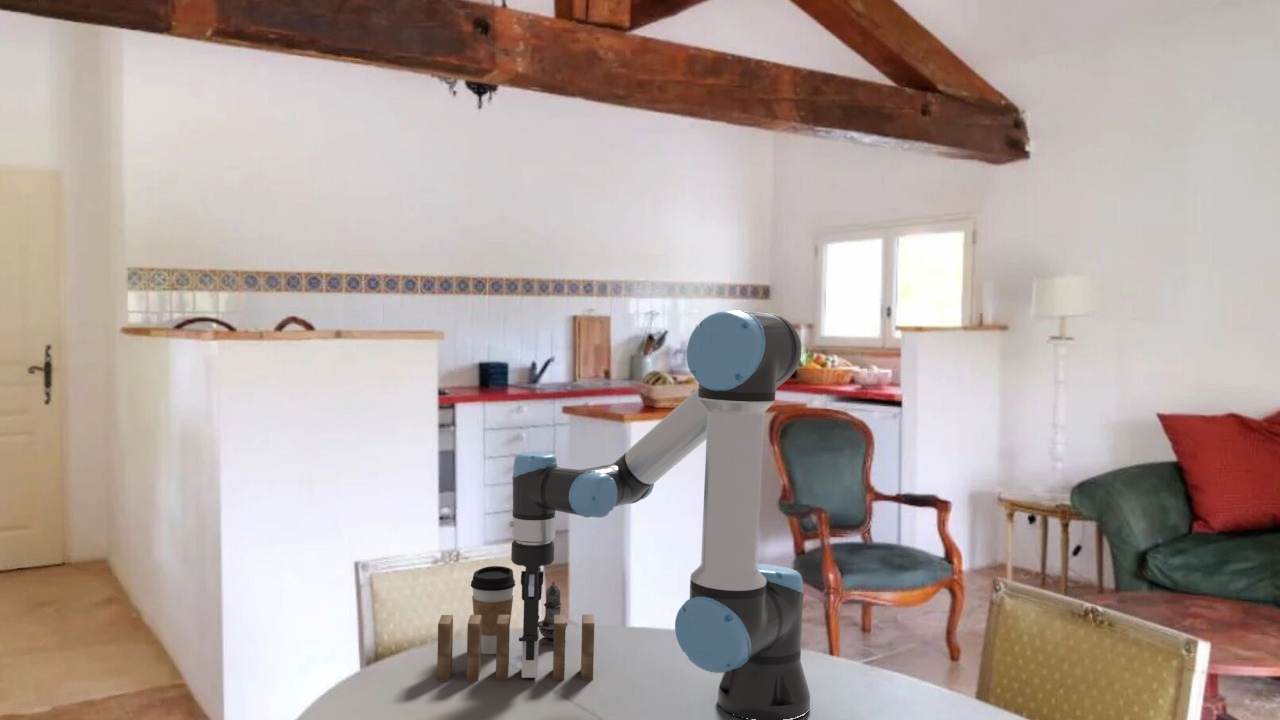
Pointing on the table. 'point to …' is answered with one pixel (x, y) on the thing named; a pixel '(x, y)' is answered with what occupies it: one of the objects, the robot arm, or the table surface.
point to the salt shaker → (550, 614)
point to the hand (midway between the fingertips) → (530, 670)
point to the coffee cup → (492, 601)
